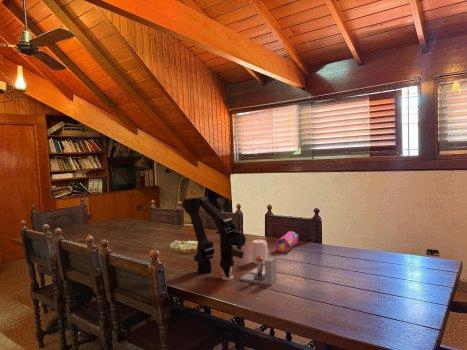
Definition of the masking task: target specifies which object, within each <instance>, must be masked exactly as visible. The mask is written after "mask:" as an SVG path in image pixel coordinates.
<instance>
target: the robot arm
mask: <svg viewBox="0 0 467 350" xmlns="http://www.w3.org/2000/svg"><path fill="white" fill-rule="evenodd" d="M182 207H183V209H184V211H185V213H186V214H187V215H189V217H190V220H191V225H192V226H193V230H194V233H195V237H196V241H197V245H196V252H197V253H196V254H195V255H194V256H193V258H194V261H195V262H197V274H198V275H199V274H200V275H201V274H210V273H211V271H212V269H213V268H212V261H211V259H213V258H214V254H215V249H216V248H215V246H214V243H213V241H211V240H209V239H208V238H207V234H206V231H205V227H204V225H203V222H202V218H201V215H200V209H202V210H203V211H204V212H205V213H206V214H207V215H208V216H210V217H211V218H212V220H213V221H214V225H215V226H216V228H217V229H218V230H217V231H216V232H215V233H216V235H219V248H220V260H219V267H220V268H221V269H223V271H224V273H225V275H226V277H229V272H230V267H231V266H232V267H234V257H235V258H239V259H241V260H242V259H243V257H244V254H245V249H243V248H242V247H244V246H245V244H246V243H247V242H246V241H247V239H246V236H245V234H243V231H241V230H239V229H238V228H237V226H236V225H235V223H234V220H233V218H232V217H231V216H229V215H228V214H226V213H223V212H221V211H220V210H219V209H218V208H217V207H216V206H215V205H214V204H213V203H212V202H210V200H208V198H207V197H206V196H201V197H200V196H199V197H196V196H195V197H188V198H184V200H183V202H182Z"/></svg>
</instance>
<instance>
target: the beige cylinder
mask: <svg viewBox="0 0 467 350" xmlns="http://www.w3.org/2000/svg"><path fill="white" fill-rule="evenodd" d="M251 247H252V249H251V250H252V251H251V252H252V262H253V263H254V264H255V265H257V260H256V257H258V256H262V257H263V265H265V260H266V259H268V258H269V256H268V243H267V241H266V240H265V239H254V240H253V241H252V243H251Z"/></svg>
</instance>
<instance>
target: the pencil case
mask: <svg viewBox="0 0 467 350" xmlns="http://www.w3.org/2000/svg"><path fill="white" fill-rule="evenodd" d="M299 240H300V236H299V234H298V233H296V231H295V232H294V231H291V230H290V231H287V232H286V233H285V234H284V235H283V236H281V238H279V239H278V240H277V241H276V244H275V248H276V251H278V252H280V253H282V254H283V253H287V252H289V250H291V249H292V248H293V247H294V246H295V245H297V243H298V242H299Z"/></svg>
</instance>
